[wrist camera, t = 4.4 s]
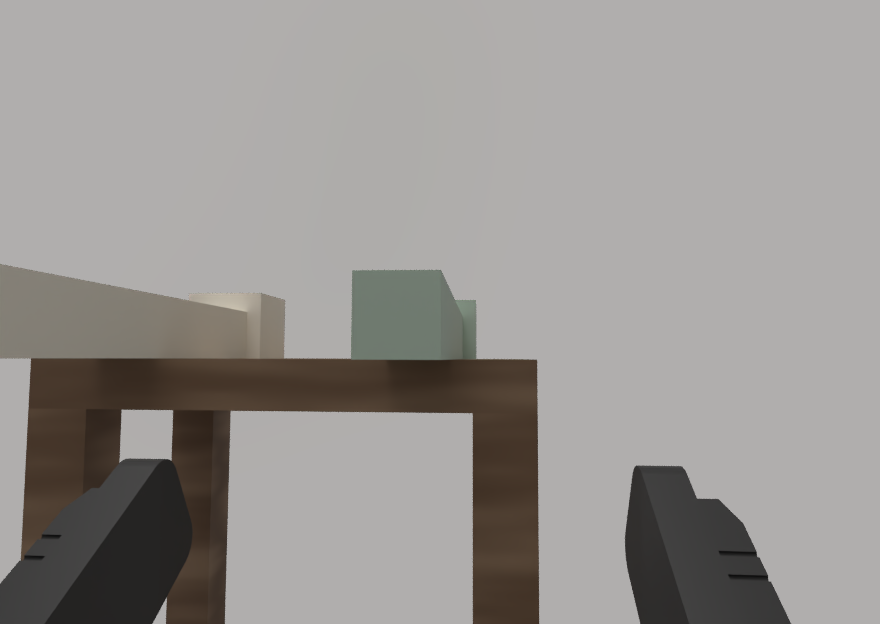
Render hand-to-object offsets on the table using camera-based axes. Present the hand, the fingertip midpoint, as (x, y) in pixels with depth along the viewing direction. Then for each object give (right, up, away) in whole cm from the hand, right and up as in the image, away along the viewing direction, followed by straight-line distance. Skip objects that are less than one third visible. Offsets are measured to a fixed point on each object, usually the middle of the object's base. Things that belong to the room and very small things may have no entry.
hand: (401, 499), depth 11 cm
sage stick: (0, +1, +18) cm, 18 cm away
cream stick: (-12, +1, +15) cm, 19 cm away
